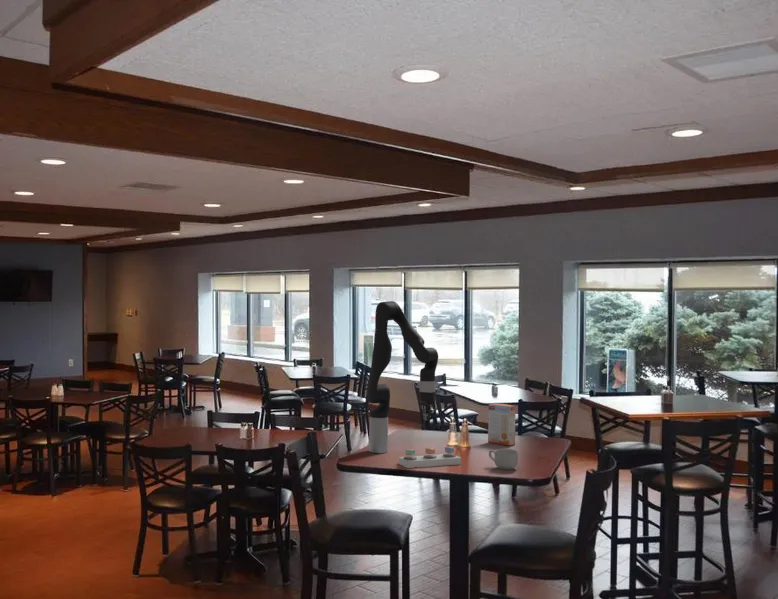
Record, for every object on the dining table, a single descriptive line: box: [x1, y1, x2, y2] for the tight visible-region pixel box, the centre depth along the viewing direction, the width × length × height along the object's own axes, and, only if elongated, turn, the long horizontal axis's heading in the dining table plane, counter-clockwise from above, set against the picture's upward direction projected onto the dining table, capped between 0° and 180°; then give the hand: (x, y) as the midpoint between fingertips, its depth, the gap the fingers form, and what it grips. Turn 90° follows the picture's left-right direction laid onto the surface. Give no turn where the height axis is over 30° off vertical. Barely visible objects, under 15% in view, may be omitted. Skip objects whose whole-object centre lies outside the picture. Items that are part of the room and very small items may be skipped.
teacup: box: [488, 448, 519, 471], centre depth 338 cm, size 14×11×8 cm
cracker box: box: [487, 402, 517, 447], centre depth 399 cm, size 14×6×21 cm, turn 44°
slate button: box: [444, 446, 455, 454], centre depth 348 cm, size 4×4×2 cm
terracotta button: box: [424, 447, 436, 455], centre depth 344 cm, size 4×4×2 cm
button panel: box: [398, 453, 462, 469], centre depth 344 cm, size 10×27×4 cm, turn 112°
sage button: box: [404, 448, 416, 456], centre depth 340 cm, size 4×4×2 cm
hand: (427, 428), depth 348 cm, fingers closed
